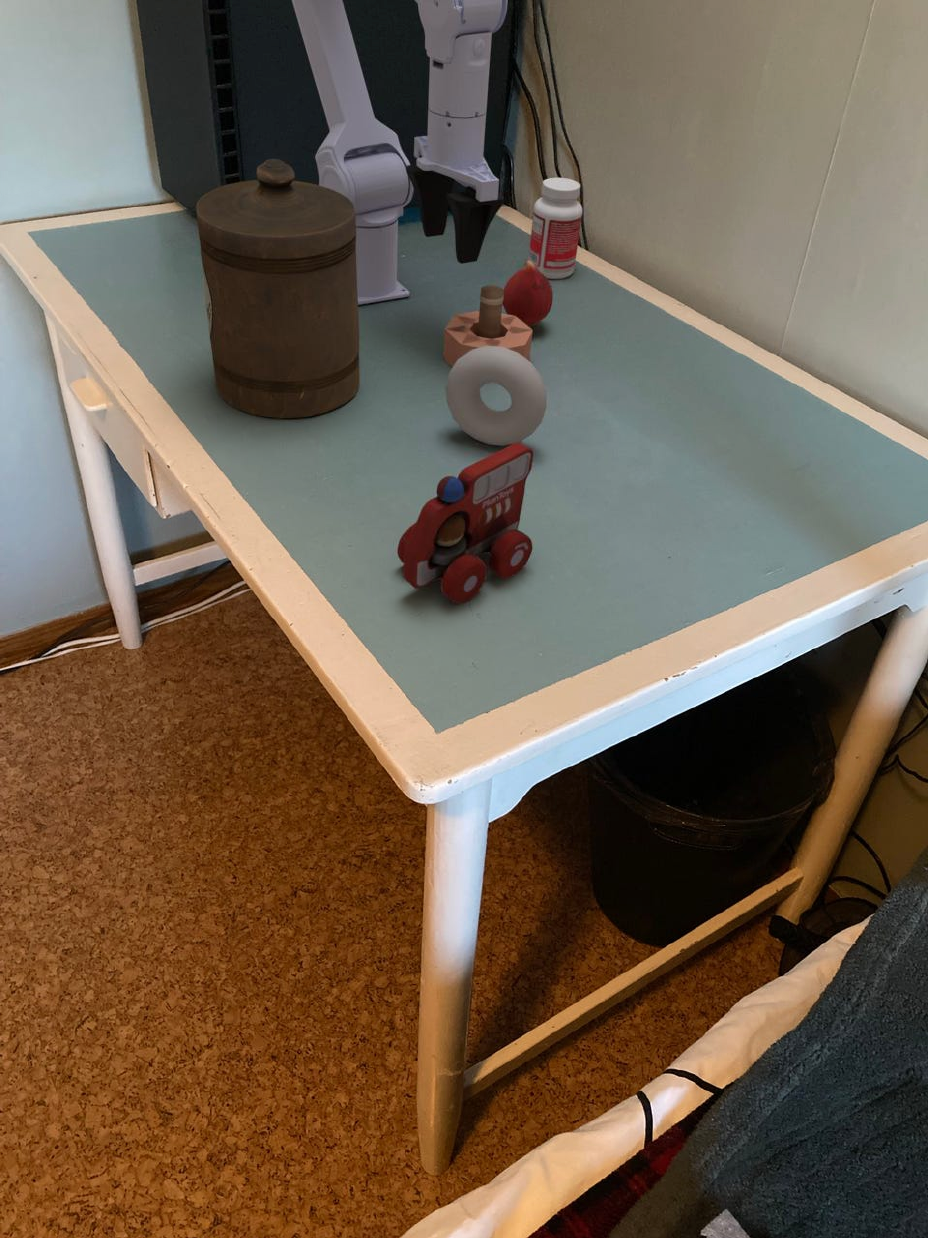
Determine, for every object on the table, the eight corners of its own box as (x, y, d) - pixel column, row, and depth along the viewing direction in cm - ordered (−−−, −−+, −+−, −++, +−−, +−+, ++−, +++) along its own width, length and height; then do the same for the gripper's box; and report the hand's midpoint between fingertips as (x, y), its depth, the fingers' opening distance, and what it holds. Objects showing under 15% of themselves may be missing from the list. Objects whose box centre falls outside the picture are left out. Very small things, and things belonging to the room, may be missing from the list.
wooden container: (273, 336, 108) (258, 125, 93) (385, 374, 104) (388, 159, 89) (185, 391, 98) (152, 165, 83) (305, 436, 94) (293, 205, 79)
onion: (549, 319, 116) (558, 254, 111) (547, 341, 112) (556, 274, 106) (501, 314, 116) (507, 248, 111) (497, 336, 112) (504, 268, 107)
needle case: (471, 355, 108) (476, 287, 103) (490, 352, 109) (496, 283, 104) (481, 366, 106) (488, 296, 101) (501, 362, 107) (508, 293, 102)
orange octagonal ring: (432, 347, 109) (433, 318, 106) (500, 334, 112) (503, 305, 110) (470, 385, 103) (473, 355, 101) (541, 369, 107) (545, 340, 104)
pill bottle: (581, 269, 128) (595, 182, 120) (560, 284, 124) (572, 196, 116) (540, 257, 130) (551, 171, 122) (518, 271, 126) (528, 183, 118)
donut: (544, 444, 96) (557, 352, 89) (534, 462, 93) (547, 368, 86) (449, 421, 97) (455, 329, 91) (437, 438, 95) (443, 344, 88)
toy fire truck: (378, 577, 79) (379, 471, 72) (487, 521, 86) (498, 420, 79) (433, 623, 76) (440, 516, 69) (543, 561, 82) (559, 458, 75)
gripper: (388, 92, 98) (387, 228, 107) (456, 135, 89) (449, 279, 98) (450, 87, 100) (443, 220, 110) (522, 128, 91) (508, 269, 100)
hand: (450, 247), depth 104 cm, fingers open, 7 cm apart
